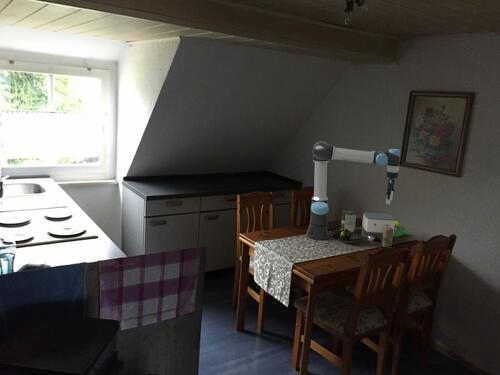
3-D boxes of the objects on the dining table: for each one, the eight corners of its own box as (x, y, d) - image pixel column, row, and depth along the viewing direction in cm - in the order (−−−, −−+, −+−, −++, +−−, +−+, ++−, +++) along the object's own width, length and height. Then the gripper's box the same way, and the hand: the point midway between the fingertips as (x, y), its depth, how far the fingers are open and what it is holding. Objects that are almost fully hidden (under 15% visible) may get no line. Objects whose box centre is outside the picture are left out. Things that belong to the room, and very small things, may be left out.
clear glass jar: (337, 229, 309) (339, 211, 307) (345, 227, 316) (347, 209, 314) (349, 233, 302) (351, 214, 299) (357, 230, 309) (359, 212, 306)
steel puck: (368, 241, 287) (368, 236, 286) (366, 239, 291) (367, 234, 290) (374, 241, 286) (375, 237, 286) (373, 239, 291) (373, 235, 290)
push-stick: (383, 247, 276) (385, 229, 273) (378, 239, 290) (380, 223, 288) (391, 247, 275) (393, 230, 273) (385, 240, 290) (387, 223, 288)
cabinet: (365, 242, 284) (367, 218, 281) (360, 234, 299) (363, 212, 296) (393, 243, 283) (396, 219, 280) (387, 236, 298) (389, 213, 295)
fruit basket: (396, 237, 297) (398, 222, 295) (385, 234, 304) (387, 219, 302) (405, 235, 303) (407, 220, 301) (395, 232, 310) (397, 217, 308)
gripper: (396, 174, 274) (392, 206, 278) (399, 170, 296) (396, 199, 301) (384, 173, 277) (381, 204, 281) (388, 168, 299) (385, 197, 304)
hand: (388, 201), depth 291 cm, fingers open, 13 cm apart
